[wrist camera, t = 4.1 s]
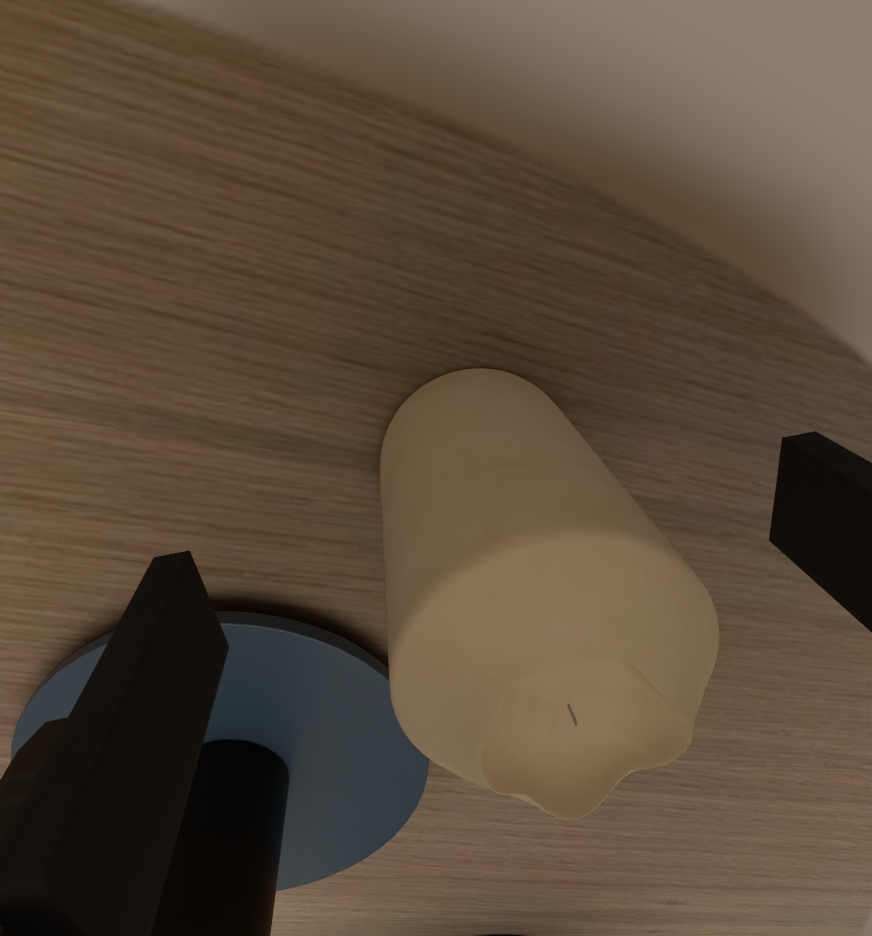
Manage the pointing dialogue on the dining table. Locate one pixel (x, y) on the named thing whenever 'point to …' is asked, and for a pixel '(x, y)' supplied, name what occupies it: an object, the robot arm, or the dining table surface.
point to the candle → (531, 600)
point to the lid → (272, 771)
